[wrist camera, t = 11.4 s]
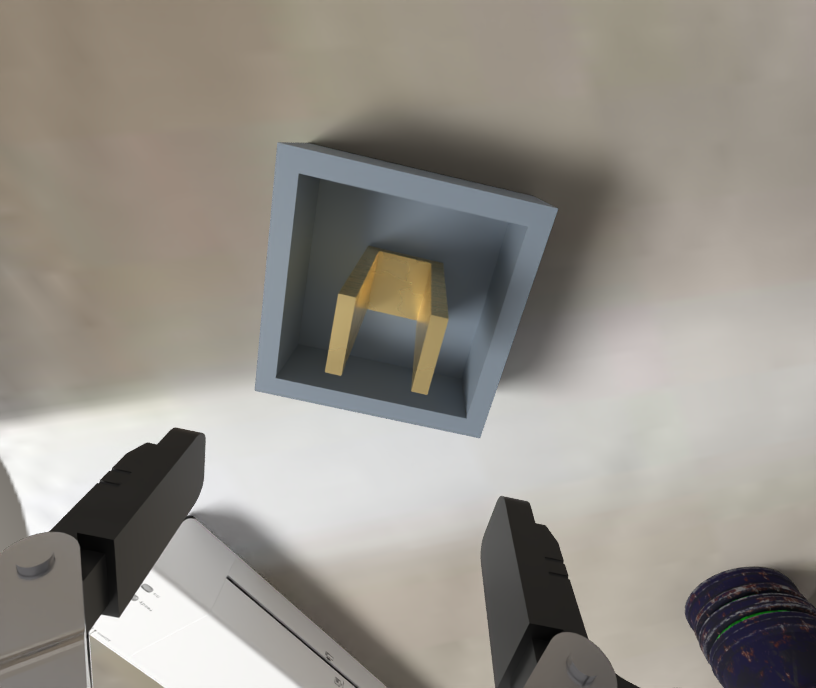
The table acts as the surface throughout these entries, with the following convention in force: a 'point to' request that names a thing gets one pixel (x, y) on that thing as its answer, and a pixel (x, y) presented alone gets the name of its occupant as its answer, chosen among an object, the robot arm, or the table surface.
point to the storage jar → (755, 629)
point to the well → (383, 333)
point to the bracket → (393, 307)
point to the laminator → (222, 626)
